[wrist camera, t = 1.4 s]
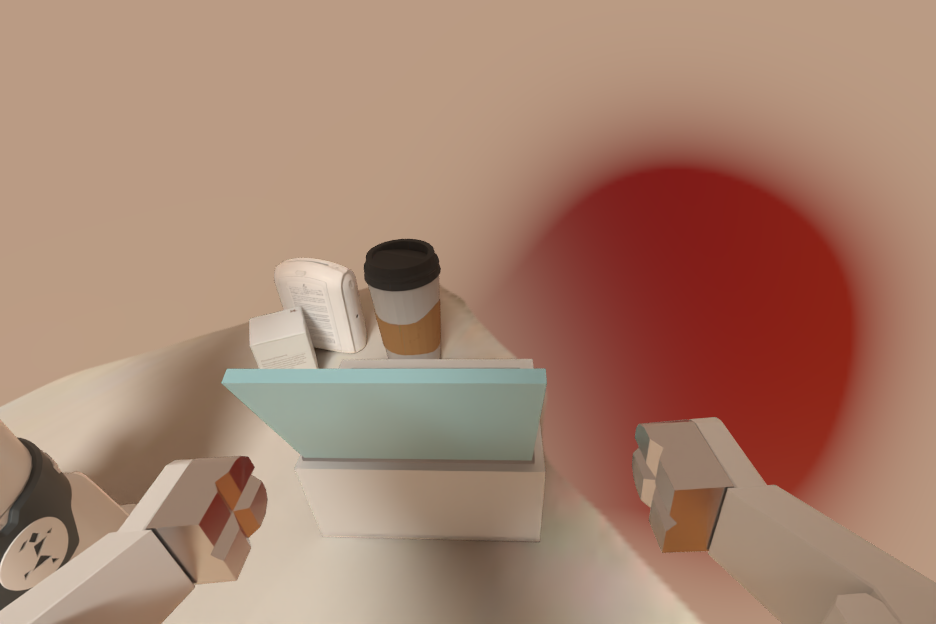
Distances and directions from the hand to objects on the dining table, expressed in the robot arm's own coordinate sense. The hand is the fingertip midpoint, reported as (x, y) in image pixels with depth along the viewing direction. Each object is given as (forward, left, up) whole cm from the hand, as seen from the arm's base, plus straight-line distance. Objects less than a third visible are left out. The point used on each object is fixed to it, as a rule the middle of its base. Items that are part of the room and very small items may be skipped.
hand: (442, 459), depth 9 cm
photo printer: (-21, +40, -28) cm, 53 cm away
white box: (-4, +20, -28) cm, 34 cm away
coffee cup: (-9, +36, -28) cm, 46 cm away
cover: (-4, +13, -12) cm, 18 cm away
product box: (-24, +34, -28) cm, 50 cm away
